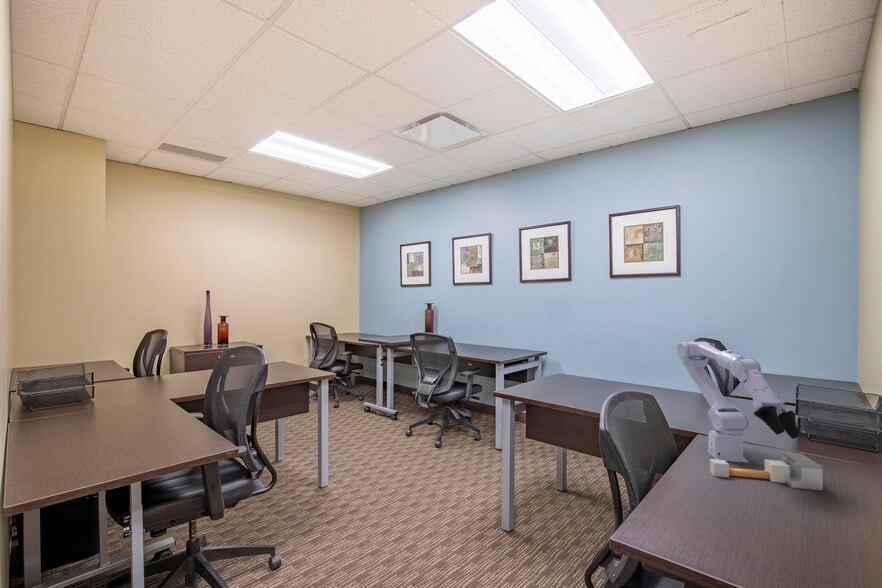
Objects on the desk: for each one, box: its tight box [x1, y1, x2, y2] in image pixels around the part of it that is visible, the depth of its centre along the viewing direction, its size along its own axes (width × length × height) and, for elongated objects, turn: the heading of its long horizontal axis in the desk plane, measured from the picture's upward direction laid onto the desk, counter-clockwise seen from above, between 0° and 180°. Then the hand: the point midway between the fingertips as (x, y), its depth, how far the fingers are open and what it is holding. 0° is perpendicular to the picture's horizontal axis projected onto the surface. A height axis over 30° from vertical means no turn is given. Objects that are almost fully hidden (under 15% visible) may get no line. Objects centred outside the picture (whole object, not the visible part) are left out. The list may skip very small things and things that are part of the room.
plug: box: [709, 458, 790, 484], centre depth 126 cm, size 20×4×5 cm, turn 76°
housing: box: [781, 451, 824, 491], centre depth 123 cm, size 8×10×7 cm
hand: (788, 435), depth 118 cm, fingers open, 7 cm apart
